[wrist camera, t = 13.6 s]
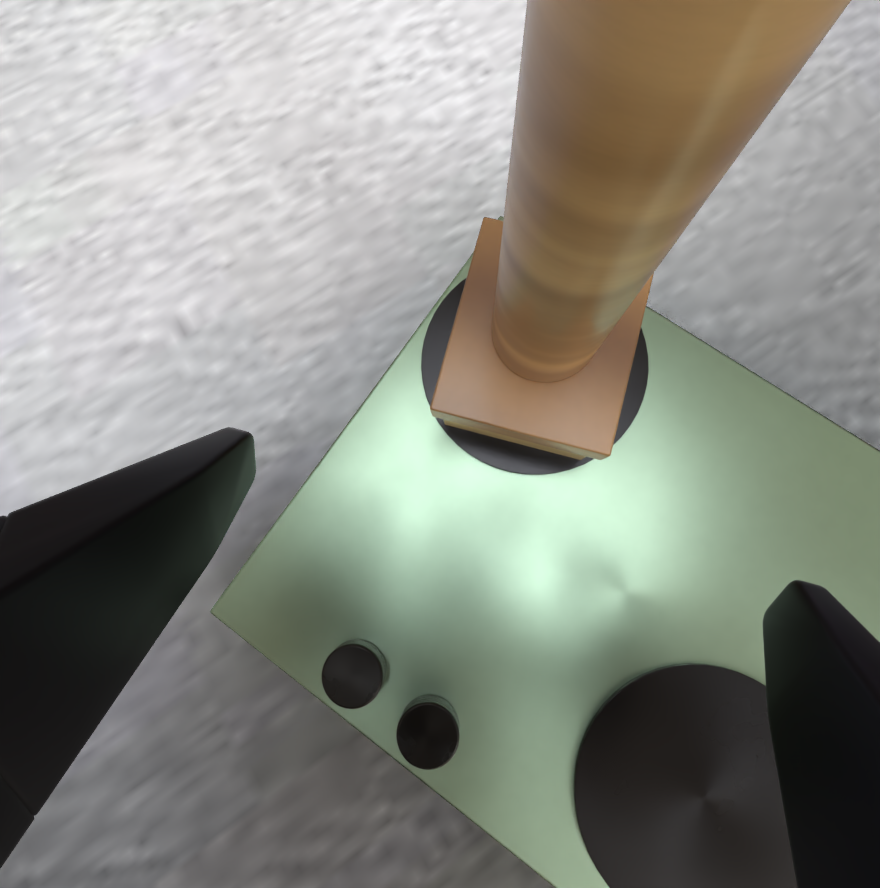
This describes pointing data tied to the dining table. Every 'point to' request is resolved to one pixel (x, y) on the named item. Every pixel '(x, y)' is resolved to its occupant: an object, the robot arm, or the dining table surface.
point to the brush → (605, 199)
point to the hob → (573, 607)
